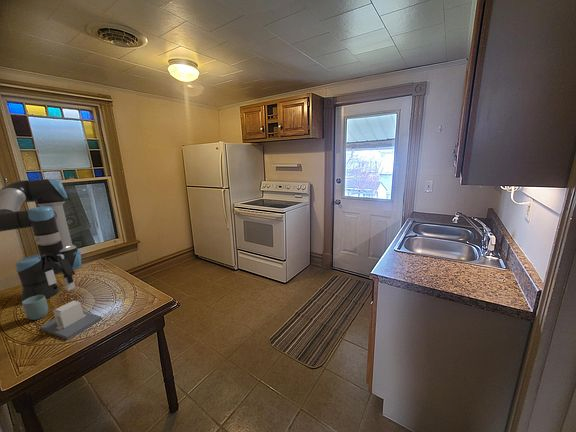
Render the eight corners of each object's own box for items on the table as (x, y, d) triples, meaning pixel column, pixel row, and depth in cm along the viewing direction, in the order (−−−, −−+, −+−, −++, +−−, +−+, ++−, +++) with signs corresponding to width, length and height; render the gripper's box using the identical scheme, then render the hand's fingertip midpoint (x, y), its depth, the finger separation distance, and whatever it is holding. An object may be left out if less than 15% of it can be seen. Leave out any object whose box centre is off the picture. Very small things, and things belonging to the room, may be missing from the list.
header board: (40, 329, 110) (36, 318, 108) (75, 311, 122) (72, 300, 121) (67, 339, 103) (64, 327, 101) (102, 319, 116) (99, 308, 114)
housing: (57, 325, 109) (52, 310, 107) (77, 314, 117) (73, 300, 115) (64, 328, 108) (59, 312, 106) (84, 317, 115) (80, 302, 113)
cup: (53, 313, 121) (48, 296, 118) (33, 323, 114) (27, 305, 111) (44, 310, 123) (38, 293, 121) (23, 320, 116) (17, 302, 114)
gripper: (21, 242, 105) (35, 285, 110) (56, 249, 96) (69, 296, 102) (43, 236, 111) (55, 277, 117) (77, 242, 103) (89, 287, 108)
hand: (61, 286), depth 109 cm, fingers open, 13 cm apart
